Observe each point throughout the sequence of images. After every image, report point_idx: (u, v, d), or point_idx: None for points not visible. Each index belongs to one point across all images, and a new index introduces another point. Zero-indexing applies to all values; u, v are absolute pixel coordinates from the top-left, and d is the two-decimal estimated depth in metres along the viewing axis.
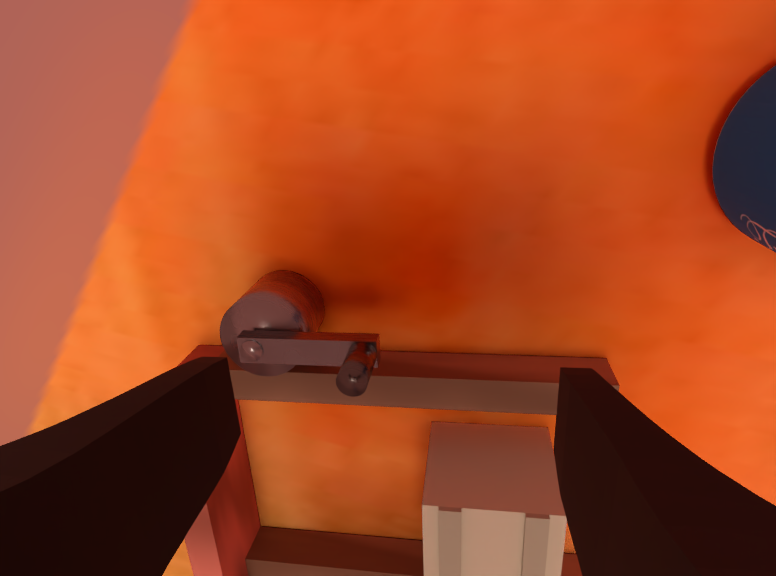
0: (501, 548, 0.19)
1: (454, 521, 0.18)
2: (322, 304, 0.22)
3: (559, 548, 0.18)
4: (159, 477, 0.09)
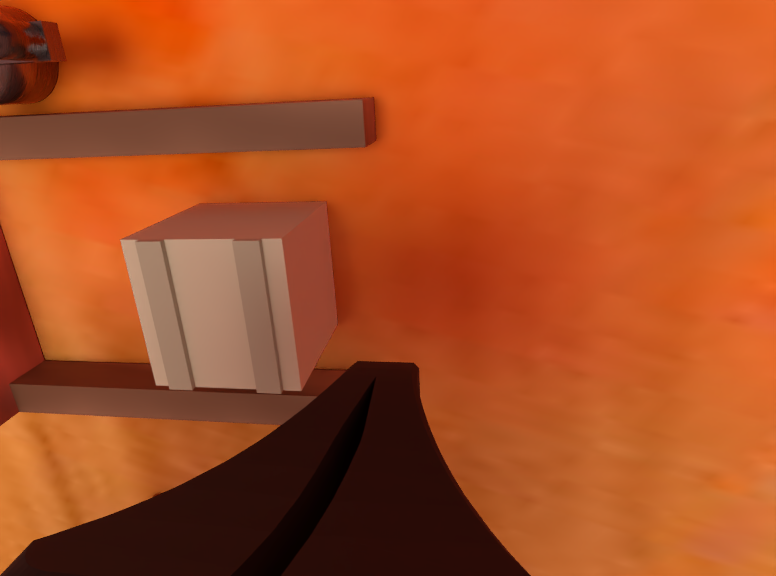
0: (219, 295, 0.16)
1: (155, 256, 0.15)
2: None
3: (282, 288, 0.15)
4: None
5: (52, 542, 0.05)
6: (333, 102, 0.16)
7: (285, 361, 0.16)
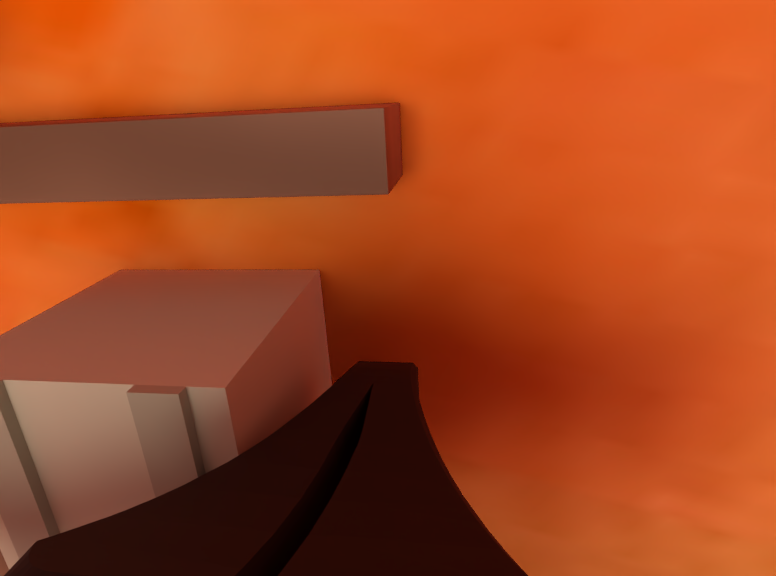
0: (116, 476, 0.08)
1: None
2: None
3: None
4: None
5: (55, 543, 0.05)
6: (329, 113, 0.09)
7: None
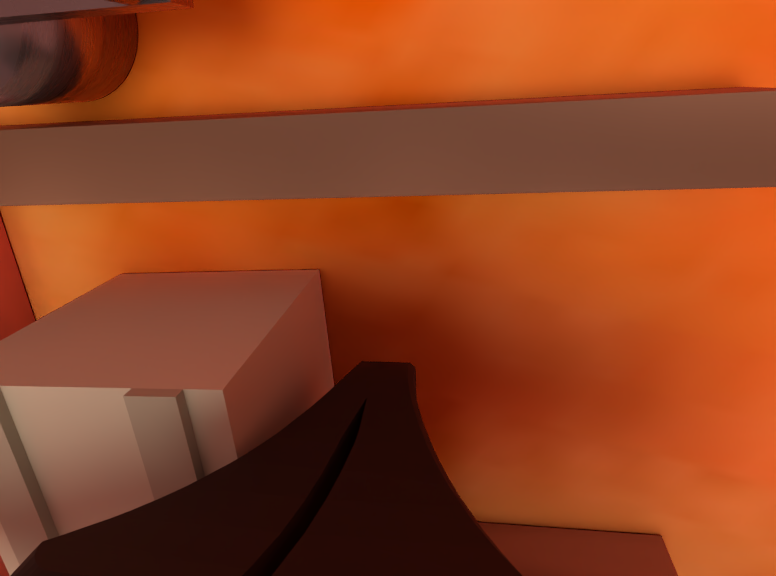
0: (115, 482, 0.08)
1: None
2: None
3: None
4: None
5: (60, 543, 0.05)
6: (739, 95, 0.08)
7: None
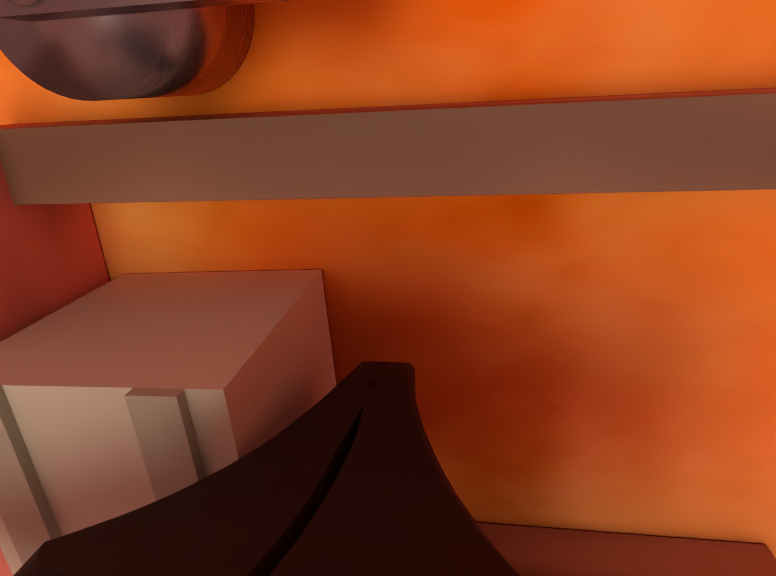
0: (117, 481, 0.08)
1: None
2: None
3: None
4: None
5: (64, 543, 0.05)
6: None
7: None
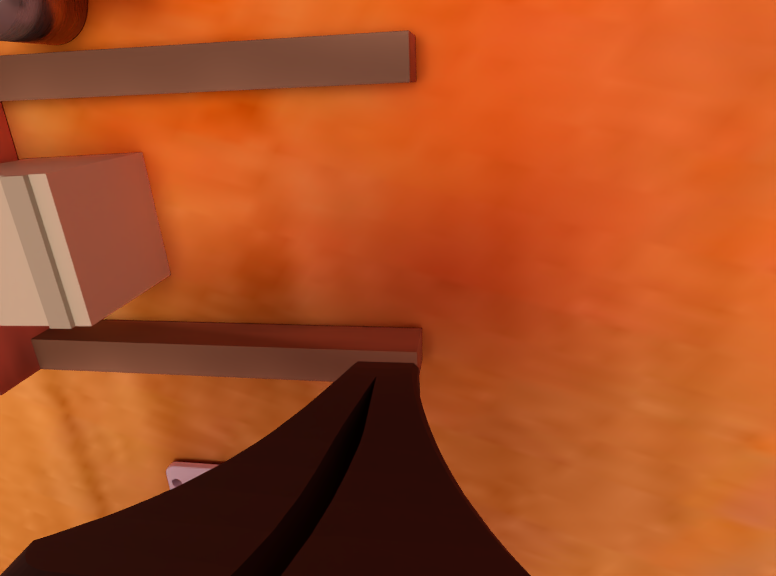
0: (2, 232, 0.16)
1: None
2: None
3: (55, 223, 0.16)
4: None
5: (52, 542, 0.05)
6: (378, 34, 0.15)
7: (72, 296, 0.17)
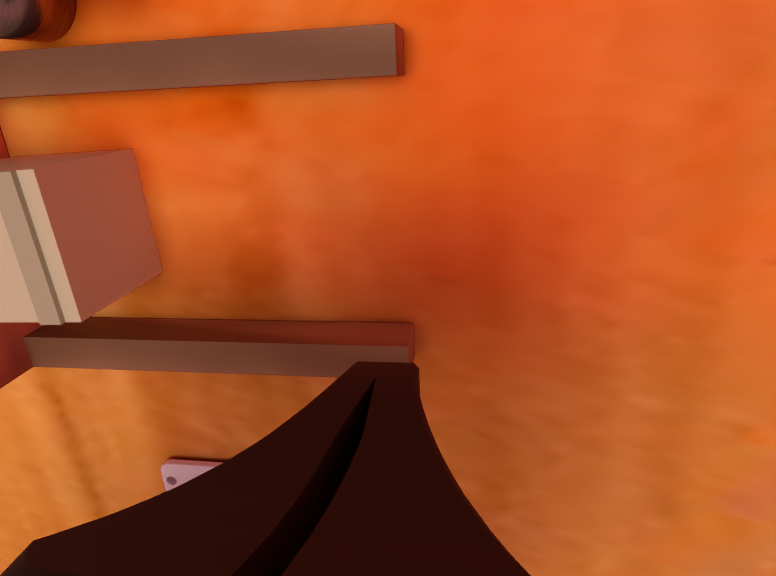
0: None
1: None
2: None
3: (44, 218, 0.16)
4: None
5: (52, 542, 0.05)
6: (364, 27, 0.15)
7: (61, 292, 0.17)
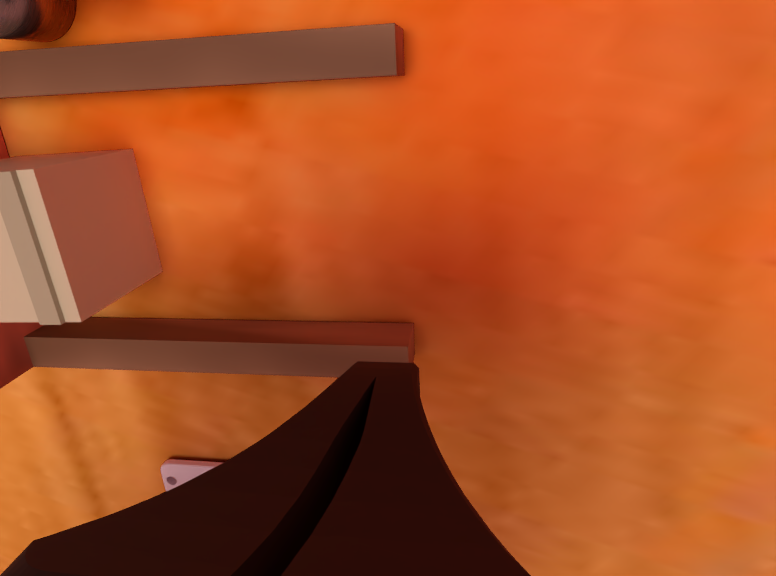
0: None
1: None
2: None
3: (44, 218, 0.16)
4: None
5: (52, 542, 0.05)
6: (364, 27, 0.15)
7: (61, 292, 0.17)
